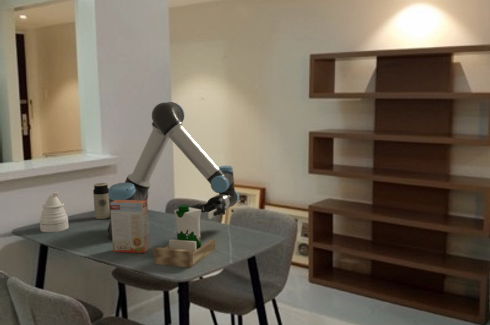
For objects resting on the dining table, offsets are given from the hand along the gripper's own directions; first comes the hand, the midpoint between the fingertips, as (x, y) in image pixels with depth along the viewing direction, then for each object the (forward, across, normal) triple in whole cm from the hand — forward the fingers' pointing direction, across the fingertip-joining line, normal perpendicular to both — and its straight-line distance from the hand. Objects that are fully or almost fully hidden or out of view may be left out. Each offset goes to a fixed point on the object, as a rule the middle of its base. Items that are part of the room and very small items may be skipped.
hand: (194, 215), depth 204 cm
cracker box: (+14, +23, -12) cm, 29 cm away
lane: (+11, -2, -13) cm, 17 cm away
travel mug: (-29, +74, -10) cm, 80 cm away
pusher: (+15, -2, -13) cm, 20 cm away
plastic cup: (-41, +58, -11) cm, 72 cm away
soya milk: (+9, -2, -14) cm, 16 cm away
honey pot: (-3, +82, -9) cm, 82 cm away
